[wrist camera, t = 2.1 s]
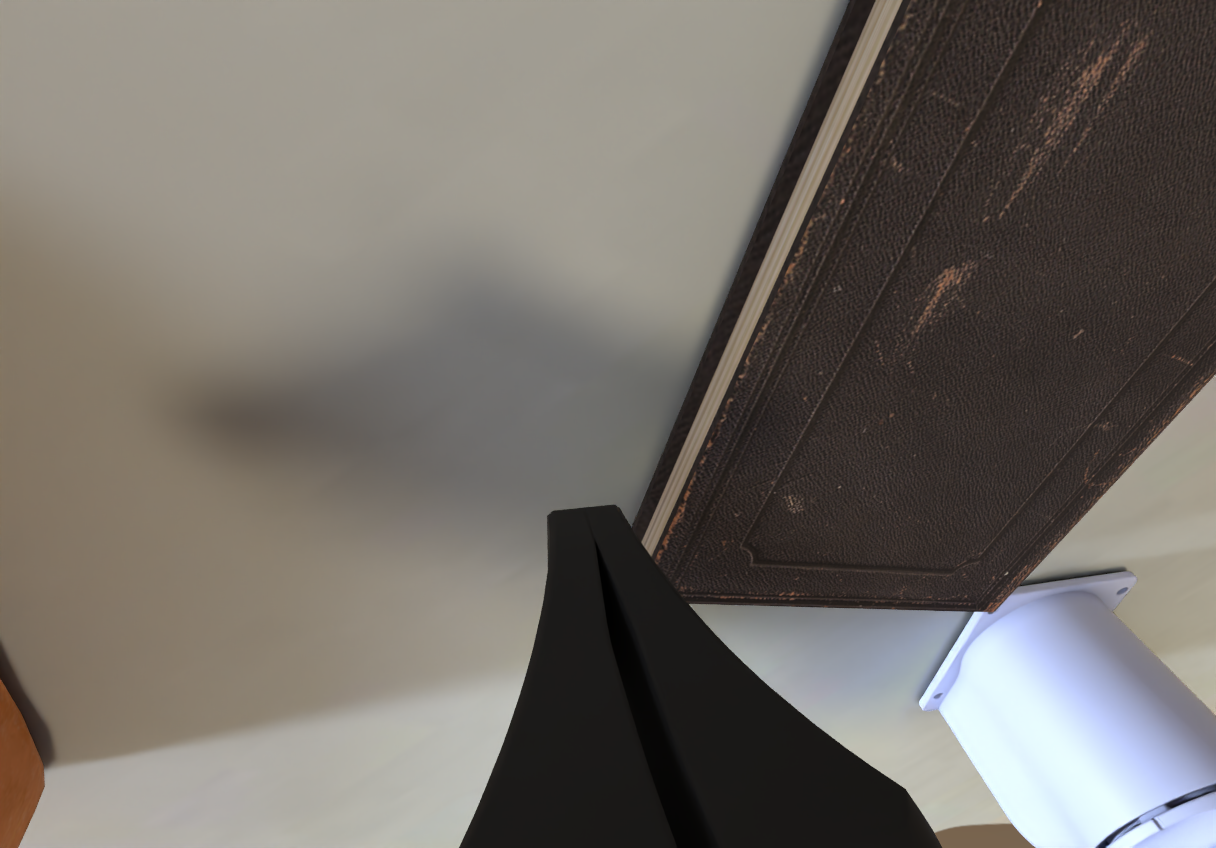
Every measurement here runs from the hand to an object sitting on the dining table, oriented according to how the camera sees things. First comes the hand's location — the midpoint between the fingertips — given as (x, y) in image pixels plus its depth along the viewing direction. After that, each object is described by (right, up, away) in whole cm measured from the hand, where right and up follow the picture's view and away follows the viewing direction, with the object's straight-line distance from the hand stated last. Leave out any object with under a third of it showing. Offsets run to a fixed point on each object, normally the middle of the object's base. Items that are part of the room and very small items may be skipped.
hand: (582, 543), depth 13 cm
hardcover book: (+12, +6, +6) cm, 15 cm away
